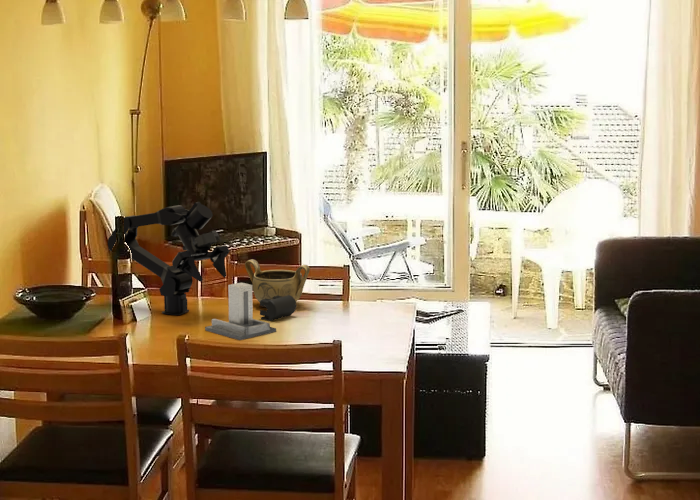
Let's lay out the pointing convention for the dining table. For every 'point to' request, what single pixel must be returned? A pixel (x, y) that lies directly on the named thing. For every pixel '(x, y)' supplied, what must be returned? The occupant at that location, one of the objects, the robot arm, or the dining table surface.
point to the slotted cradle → (240, 329)
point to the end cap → (277, 307)
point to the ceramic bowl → (276, 281)
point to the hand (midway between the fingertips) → (213, 278)
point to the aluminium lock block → (240, 304)
